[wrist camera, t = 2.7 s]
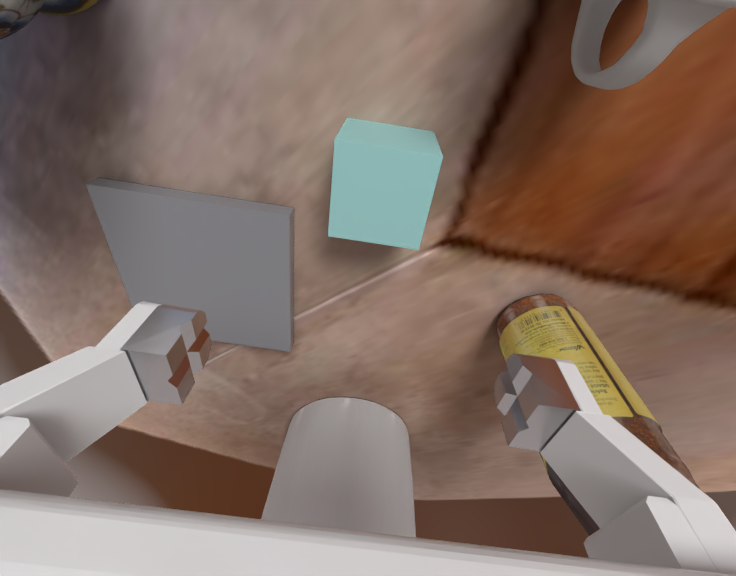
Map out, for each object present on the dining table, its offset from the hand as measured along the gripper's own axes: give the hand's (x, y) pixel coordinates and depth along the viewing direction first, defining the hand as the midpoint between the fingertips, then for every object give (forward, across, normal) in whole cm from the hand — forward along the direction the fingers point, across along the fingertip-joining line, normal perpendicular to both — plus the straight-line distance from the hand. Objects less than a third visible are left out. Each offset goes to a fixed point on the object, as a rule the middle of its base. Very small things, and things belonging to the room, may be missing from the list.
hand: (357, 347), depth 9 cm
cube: (+15, 0, 0) cm, 15 cm away
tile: (+15, +12, +10) cm, 21 cm away
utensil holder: (+15, -1, +30) cm, 33 cm away
